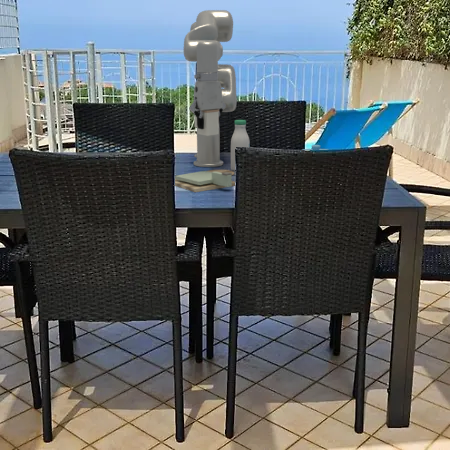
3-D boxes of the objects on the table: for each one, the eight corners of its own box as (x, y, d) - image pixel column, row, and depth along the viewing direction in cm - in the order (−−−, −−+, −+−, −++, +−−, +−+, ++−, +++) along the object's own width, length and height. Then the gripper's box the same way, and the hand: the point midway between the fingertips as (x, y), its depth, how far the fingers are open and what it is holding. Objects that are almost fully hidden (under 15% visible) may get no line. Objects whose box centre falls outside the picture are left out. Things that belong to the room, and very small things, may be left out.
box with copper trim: (207, 135, 222) (206, 110, 219) (192, 133, 228) (192, 108, 225) (219, 134, 226) (219, 109, 223) (205, 131, 232) (204, 107, 229)
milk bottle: (247, 171, 246) (248, 121, 240) (229, 171, 247) (228, 121, 242) (251, 168, 253) (251, 119, 247) (232, 167, 254) (232, 119, 249)
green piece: (214, 189, 208) (214, 176, 206) (174, 179, 223) (174, 167, 222) (244, 183, 217) (244, 170, 215) (204, 174, 232) (204, 162, 231)
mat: (197, 173, 243) (197, 171, 243) (222, 169, 250) (222, 168, 250) (215, 178, 234) (215, 176, 233) (240, 174, 240) (240, 173, 240)
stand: (168, 183, 225) (167, 179, 225) (208, 177, 235) (208, 173, 235) (194, 192, 211) (194, 187, 211) (236, 185, 221) (236, 181, 221)
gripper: (192, 79, 212) (193, 131, 218) (233, 76, 222) (233, 126, 227) (181, 77, 218) (182, 128, 224) (221, 75, 227) (221, 124, 233)
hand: (208, 127), depth 225 cm, fingers closed on box with copper trim, 5 cm apart
